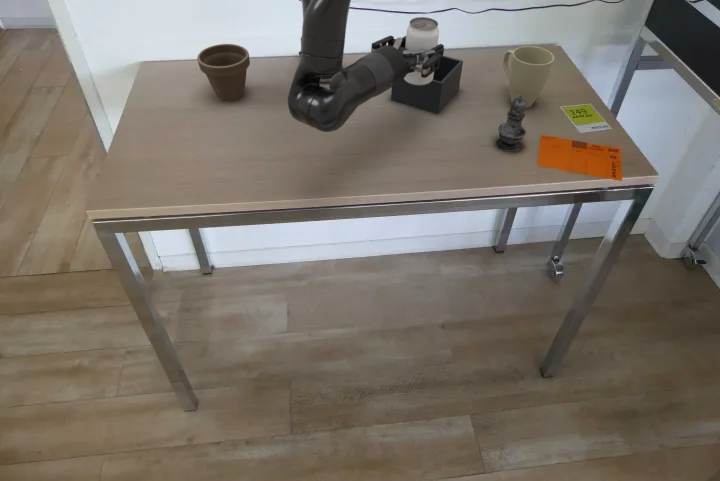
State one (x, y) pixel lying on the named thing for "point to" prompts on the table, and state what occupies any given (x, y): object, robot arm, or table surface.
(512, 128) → the grey chess piece
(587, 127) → the table surface
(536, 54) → the mug
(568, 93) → the table surface
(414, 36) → the can
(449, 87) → the waste bin
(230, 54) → the flower pot
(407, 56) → the robot arm
